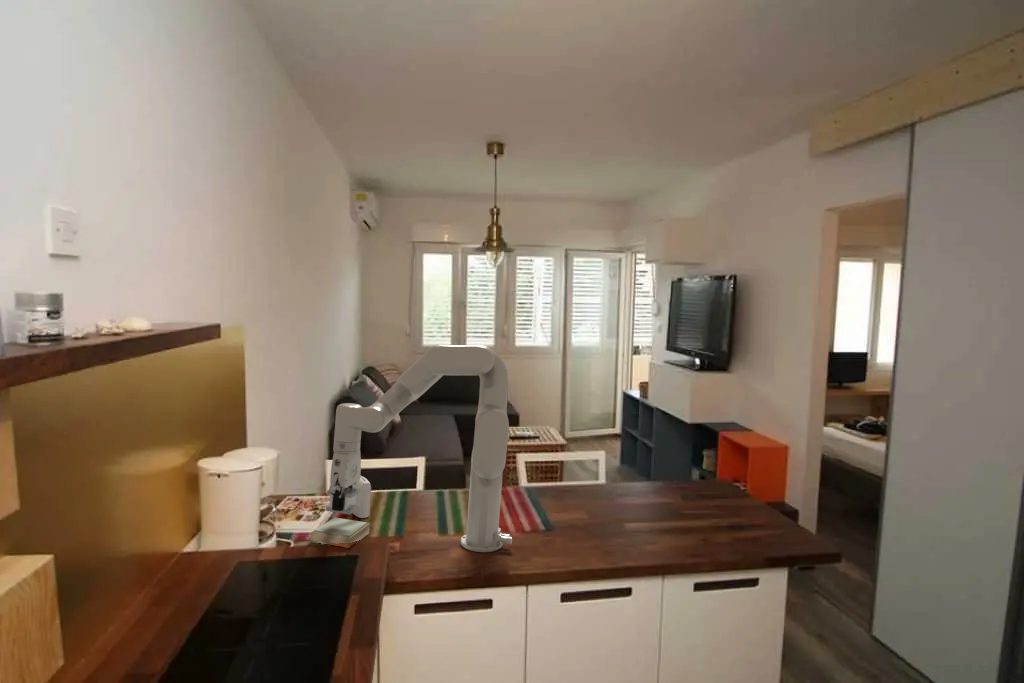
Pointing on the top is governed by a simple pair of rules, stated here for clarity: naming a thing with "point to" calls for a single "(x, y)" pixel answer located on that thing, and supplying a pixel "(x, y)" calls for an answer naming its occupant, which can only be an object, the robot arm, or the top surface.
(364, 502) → the photo printer
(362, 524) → the pale green flat tray
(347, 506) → the steel housing
